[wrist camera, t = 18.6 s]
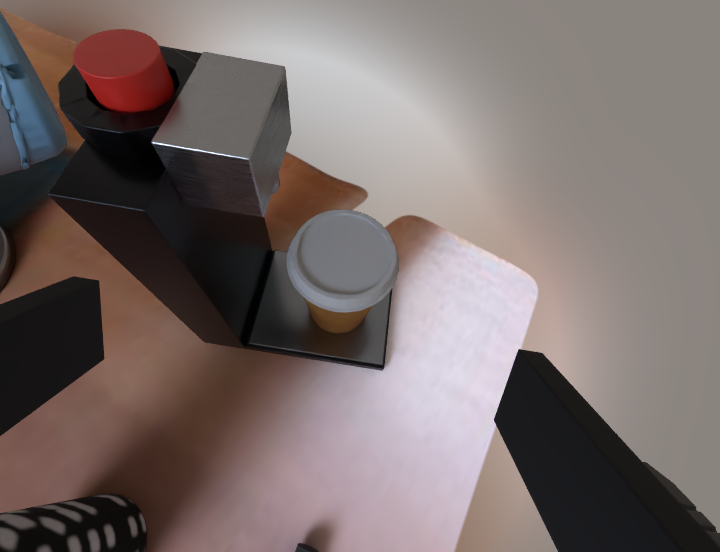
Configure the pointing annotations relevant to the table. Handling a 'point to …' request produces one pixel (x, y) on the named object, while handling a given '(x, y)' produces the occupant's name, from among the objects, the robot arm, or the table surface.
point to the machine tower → (160, 214)
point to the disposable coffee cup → (342, 267)
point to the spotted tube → (75, 526)
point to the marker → (305, 548)
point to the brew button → (124, 70)
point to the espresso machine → (254, 195)
